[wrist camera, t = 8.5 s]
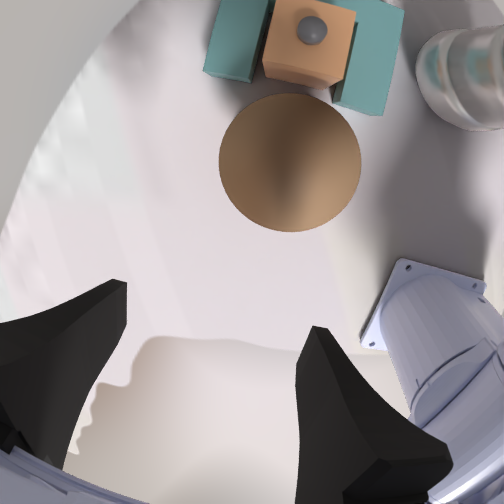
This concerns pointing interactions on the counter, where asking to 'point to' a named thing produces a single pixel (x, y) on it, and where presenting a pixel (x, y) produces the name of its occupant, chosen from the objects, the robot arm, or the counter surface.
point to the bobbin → (289, 162)
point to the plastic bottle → (464, 77)
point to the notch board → (358, 61)
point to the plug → (308, 42)
